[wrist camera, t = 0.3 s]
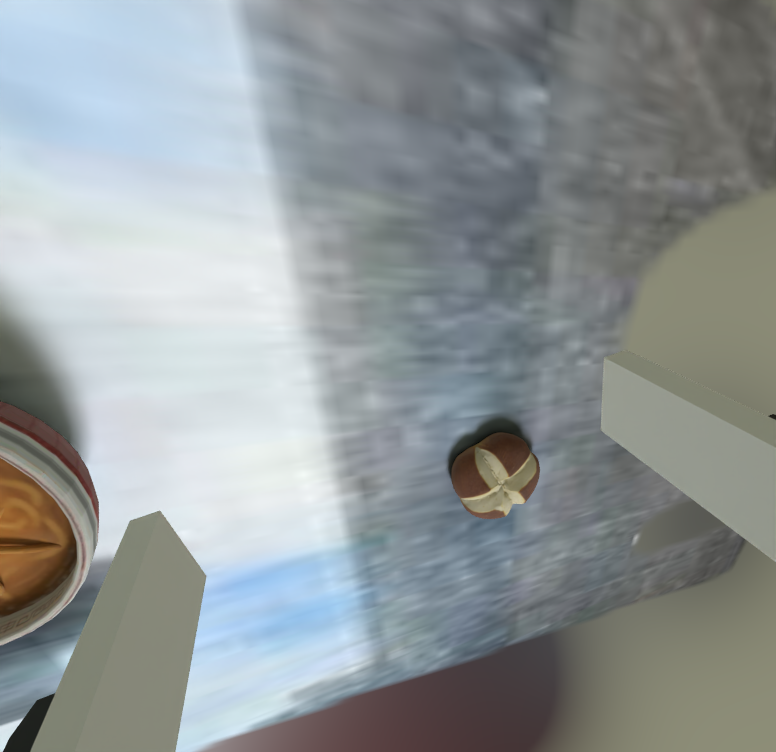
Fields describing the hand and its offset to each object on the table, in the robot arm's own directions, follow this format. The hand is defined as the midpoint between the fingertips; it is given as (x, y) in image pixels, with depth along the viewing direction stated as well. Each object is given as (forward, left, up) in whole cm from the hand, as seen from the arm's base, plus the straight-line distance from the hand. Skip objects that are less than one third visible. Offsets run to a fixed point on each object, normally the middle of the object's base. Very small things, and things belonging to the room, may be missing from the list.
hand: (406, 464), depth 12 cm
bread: (+30, +13, -28) cm, 43 cm away
